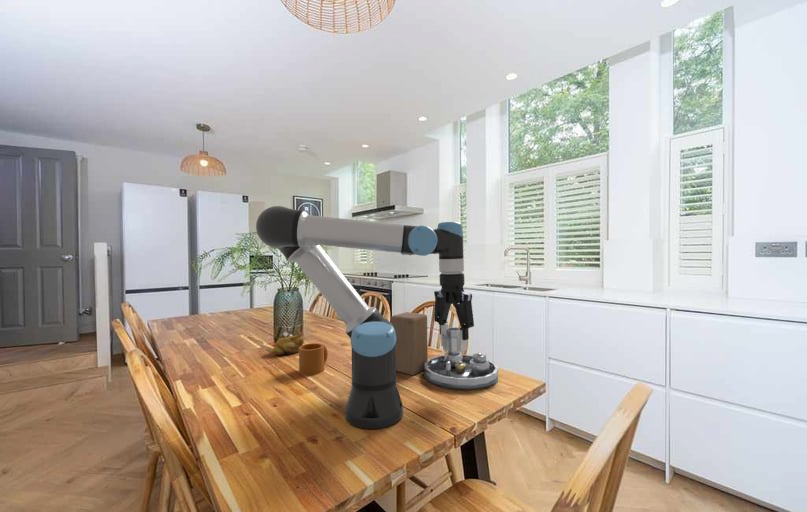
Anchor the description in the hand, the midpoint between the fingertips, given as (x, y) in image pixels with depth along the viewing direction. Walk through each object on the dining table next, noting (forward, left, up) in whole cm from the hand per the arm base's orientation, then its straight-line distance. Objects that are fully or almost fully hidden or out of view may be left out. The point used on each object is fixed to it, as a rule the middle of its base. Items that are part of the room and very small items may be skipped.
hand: (454, 347), depth 103 cm
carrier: (+12, +7, -13) cm, 19 cm away
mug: (-22, +47, -14) cm, 54 cm away
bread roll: (-21, +75, -14) cm, 79 cm away
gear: (0, 0, 0) cm, 0 cm away
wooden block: (+3, +23, -14) cm, 27 cm away
